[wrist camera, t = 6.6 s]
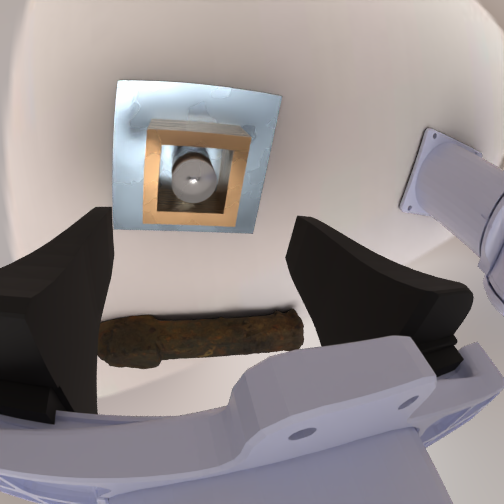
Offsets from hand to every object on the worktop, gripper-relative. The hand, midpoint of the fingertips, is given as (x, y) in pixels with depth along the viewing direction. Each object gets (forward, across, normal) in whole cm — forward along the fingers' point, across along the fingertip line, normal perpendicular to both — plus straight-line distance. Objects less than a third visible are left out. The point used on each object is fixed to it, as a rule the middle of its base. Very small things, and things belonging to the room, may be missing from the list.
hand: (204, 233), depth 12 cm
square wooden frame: (+9, 0, 0) cm, 9 cm away
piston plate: (+9, 0, 0) cm, 9 cm away
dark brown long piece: (+10, -2, +16) cm, 18 cm away
